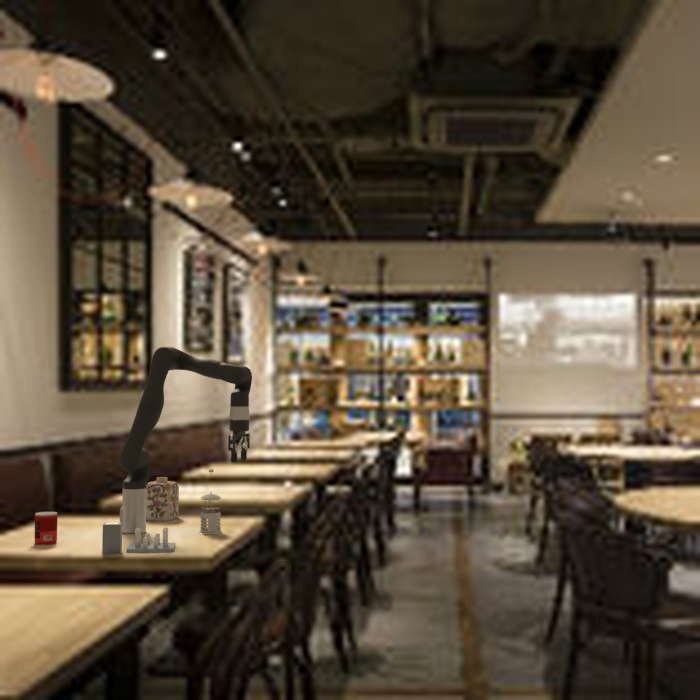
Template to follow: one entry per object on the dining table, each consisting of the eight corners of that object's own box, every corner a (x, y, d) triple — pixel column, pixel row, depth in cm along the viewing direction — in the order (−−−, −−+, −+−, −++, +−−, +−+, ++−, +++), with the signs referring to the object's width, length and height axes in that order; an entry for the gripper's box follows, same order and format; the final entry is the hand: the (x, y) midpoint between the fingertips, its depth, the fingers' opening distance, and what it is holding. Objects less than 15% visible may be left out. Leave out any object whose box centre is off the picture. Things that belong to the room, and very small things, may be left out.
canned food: (61, 542, 351) (61, 512, 351) (47, 545, 343) (48, 515, 344) (43, 541, 353) (44, 511, 354) (29, 544, 346) (30, 513, 346)
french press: (202, 535, 368) (203, 470, 369) (193, 531, 379) (193, 468, 380) (226, 533, 373) (227, 469, 374) (216, 529, 383) (217, 467, 384)
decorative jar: (143, 520, 407) (144, 478, 408) (153, 516, 419) (154, 475, 419) (170, 521, 405) (170, 478, 406) (179, 517, 417) (180, 476, 417)
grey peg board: (126, 552, 331) (126, 531, 331) (130, 546, 343) (130, 526, 343) (173, 551, 333) (173, 530, 333) (175, 545, 345) (175, 525, 345)
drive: (102, 554, 327) (102, 524, 328) (104, 551, 332) (104, 522, 333) (120, 553, 328) (120, 524, 328) (121, 551, 333) (122, 522, 333)
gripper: (238, 417, 371) (237, 459, 370) (222, 418, 357) (221, 462, 357) (256, 418, 368) (255, 460, 368) (240, 419, 355) (239, 463, 354)
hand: (238, 461), depth 362 cm, fingers open, 8 cm apart
